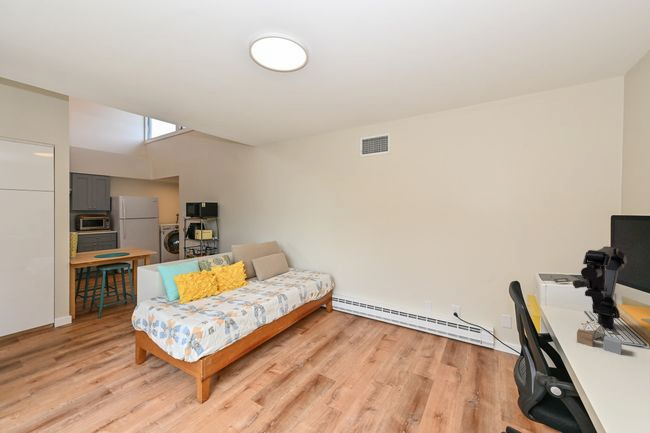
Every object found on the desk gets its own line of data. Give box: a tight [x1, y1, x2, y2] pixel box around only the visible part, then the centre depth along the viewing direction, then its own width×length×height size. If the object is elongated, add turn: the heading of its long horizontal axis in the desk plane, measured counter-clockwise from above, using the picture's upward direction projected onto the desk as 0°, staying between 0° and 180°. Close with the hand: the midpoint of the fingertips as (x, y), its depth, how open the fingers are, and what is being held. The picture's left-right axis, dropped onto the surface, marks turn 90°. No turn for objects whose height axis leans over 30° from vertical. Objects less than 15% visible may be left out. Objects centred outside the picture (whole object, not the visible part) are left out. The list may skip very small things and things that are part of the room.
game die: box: [581, 319, 608, 341], centre depth 124 cm, size 9×8×10 cm
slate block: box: [603, 334, 623, 356], centre depth 114 cm, size 5×5×5 cm
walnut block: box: [576, 328, 595, 348], centre depth 120 cm, size 5×5×5 cm
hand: (595, 307), depth 128 cm, fingers closed
